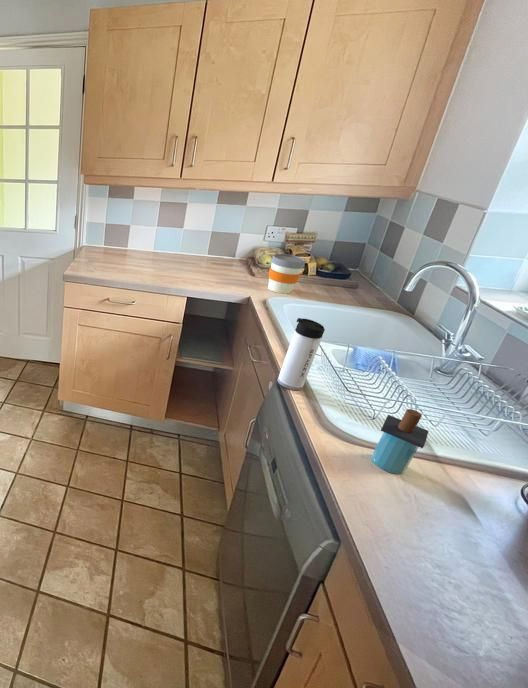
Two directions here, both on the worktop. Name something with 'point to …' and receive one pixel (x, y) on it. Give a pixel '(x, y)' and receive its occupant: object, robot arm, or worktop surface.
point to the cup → (393, 454)
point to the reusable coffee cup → (284, 272)
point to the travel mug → (300, 354)
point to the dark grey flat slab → (406, 428)
